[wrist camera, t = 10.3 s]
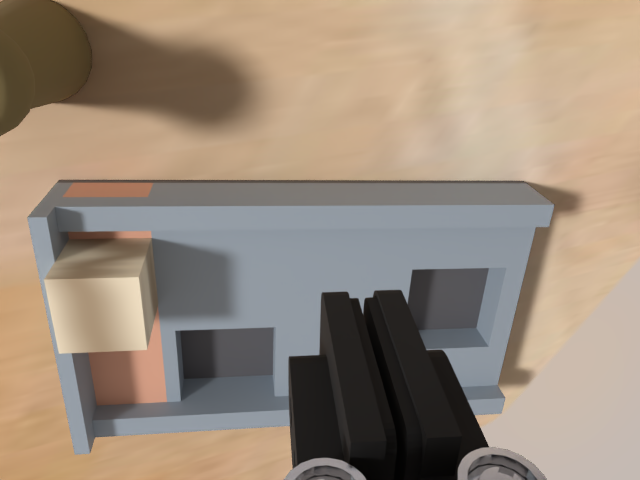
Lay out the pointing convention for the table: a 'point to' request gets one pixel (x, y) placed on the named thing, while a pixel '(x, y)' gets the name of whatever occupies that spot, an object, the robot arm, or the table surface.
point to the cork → (38, 57)
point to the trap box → (284, 287)
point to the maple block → (103, 295)
